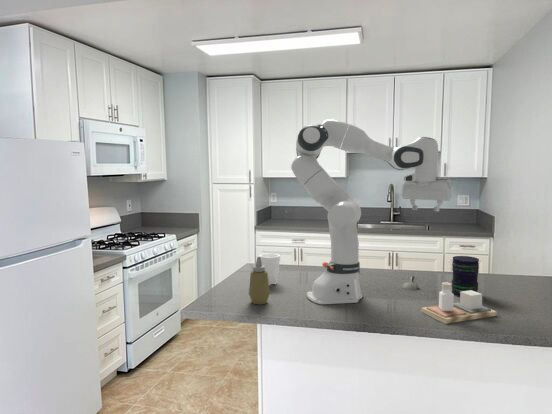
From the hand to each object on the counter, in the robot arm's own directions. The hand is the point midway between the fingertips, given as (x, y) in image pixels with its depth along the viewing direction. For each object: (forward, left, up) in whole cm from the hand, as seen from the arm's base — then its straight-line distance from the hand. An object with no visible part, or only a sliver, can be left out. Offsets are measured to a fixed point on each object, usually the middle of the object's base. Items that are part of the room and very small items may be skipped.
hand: (425, 210), depth 165 cm
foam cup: (-57, +34, -34) cm, 75 cm away
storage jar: (+13, -9, -34) cm, 38 cm away
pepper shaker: (-12, -26, -32) cm, 43 cm away
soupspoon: (+3, +12, -35) cm, 37 cm away
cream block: (-1, -26, -32) cm, 41 cm away
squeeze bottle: (-69, +10, -34) cm, 78 cm away
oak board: (-6, -26, -34) cm, 43 cm away
